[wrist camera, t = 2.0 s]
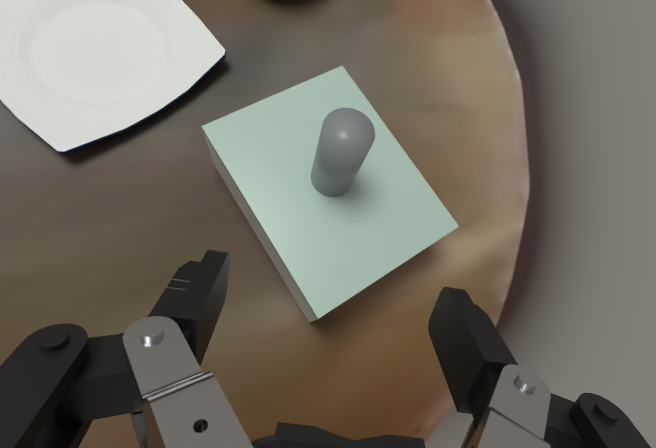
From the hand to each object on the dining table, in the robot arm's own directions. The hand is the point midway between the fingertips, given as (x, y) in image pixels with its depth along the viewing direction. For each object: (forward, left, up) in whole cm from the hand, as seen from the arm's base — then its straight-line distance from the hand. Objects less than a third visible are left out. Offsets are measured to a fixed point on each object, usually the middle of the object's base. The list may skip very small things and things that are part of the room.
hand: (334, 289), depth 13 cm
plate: (-34, -3, -21) cm, 40 cm away
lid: (-8, +8, -15) cm, 19 cm away
